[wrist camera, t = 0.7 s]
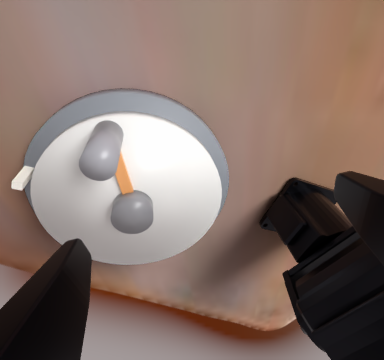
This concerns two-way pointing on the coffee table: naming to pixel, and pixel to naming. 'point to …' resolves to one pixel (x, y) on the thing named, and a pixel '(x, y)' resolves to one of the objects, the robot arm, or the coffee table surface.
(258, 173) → the coffee table surface
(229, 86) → the coffee table surface
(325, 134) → the coffee table surface
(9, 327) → the robot arm
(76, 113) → the base plate
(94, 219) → the dial
